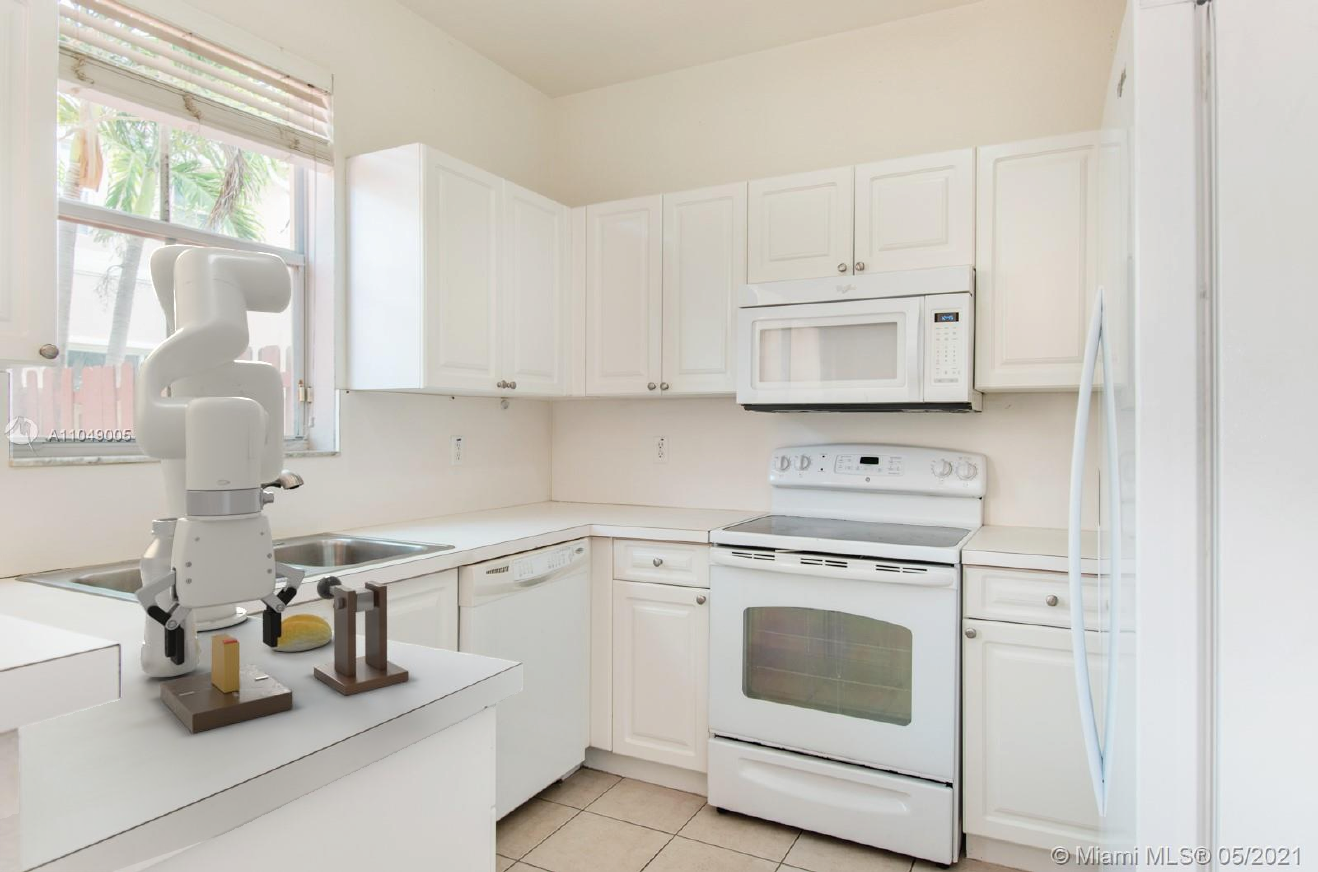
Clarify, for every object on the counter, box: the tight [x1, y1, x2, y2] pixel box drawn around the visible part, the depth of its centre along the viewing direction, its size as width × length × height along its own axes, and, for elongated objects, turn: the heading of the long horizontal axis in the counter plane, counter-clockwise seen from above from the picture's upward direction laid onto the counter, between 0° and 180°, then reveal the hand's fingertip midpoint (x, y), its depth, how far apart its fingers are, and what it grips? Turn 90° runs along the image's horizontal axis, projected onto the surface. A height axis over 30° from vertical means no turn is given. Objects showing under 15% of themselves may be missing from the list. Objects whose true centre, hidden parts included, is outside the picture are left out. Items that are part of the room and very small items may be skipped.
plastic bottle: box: [139, 517, 202, 678], centre depth 99 cm, size 6×7×20 cm
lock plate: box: [160, 663, 293, 734], centre depth 89 cm, size 14×10×2 cm
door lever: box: [316, 575, 374, 613], centre depth 102 cm, size 13×3×3 cm, turn 44°
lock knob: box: [210, 632, 240, 693], centre depth 89 cm, size 5×2×6 cm, turn 44°
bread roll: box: [270, 613, 333, 653], centre depth 113 cm, size 8×9×4 cm
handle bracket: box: [313, 580, 410, 696], centre depth 98 cm, size 10×8×12 cm
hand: (225, 653), depth 89 cm, fingers open, 9 cm apart
